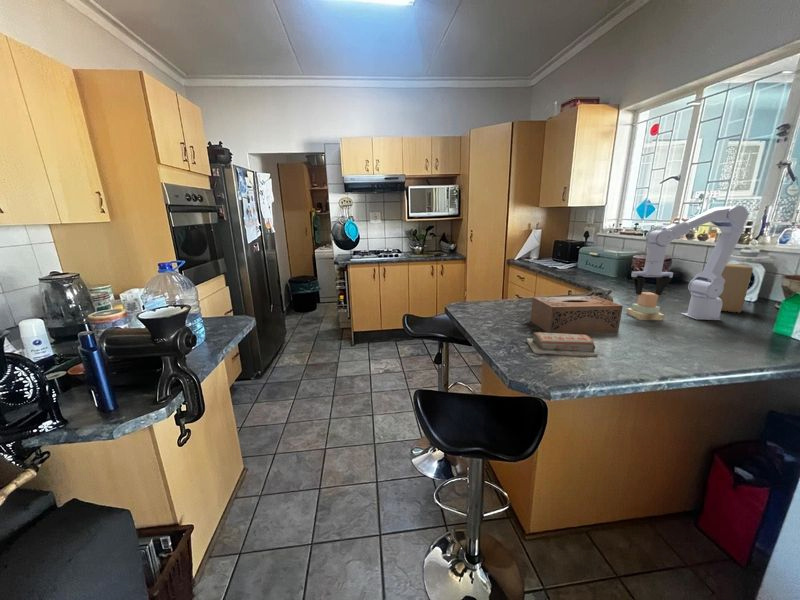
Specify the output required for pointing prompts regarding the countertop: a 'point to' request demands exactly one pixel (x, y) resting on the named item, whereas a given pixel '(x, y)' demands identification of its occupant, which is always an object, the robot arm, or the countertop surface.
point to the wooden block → (735, 286)
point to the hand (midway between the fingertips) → (648, 294)
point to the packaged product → (562, 344)
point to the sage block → (645, 309)
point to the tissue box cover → (575, 314)
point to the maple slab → (645, 315)
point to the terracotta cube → (647, 299)
